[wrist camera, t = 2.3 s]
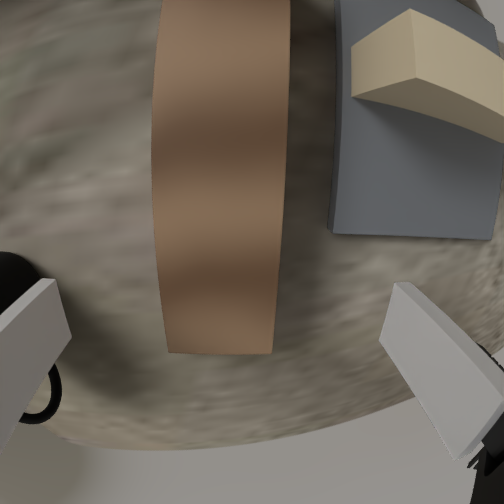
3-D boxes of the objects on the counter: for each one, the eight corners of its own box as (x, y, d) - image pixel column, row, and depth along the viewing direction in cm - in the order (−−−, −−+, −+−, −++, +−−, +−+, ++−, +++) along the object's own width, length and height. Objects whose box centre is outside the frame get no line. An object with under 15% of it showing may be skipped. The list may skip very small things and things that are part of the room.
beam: (188, -18, 11) (175, -63, 6) (274, -17, 11) (289, -63, 6) (182, 301, 18) (168, 352, 13) (262, 302, 18) (271, 353, 14)
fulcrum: (330, -41, 10) (371, -99, 3) (486, 27, 11) (545, 15, 5) (327, 228, 16) (383, 283, 10) (483, 235, 17) (544, 271, 11)
